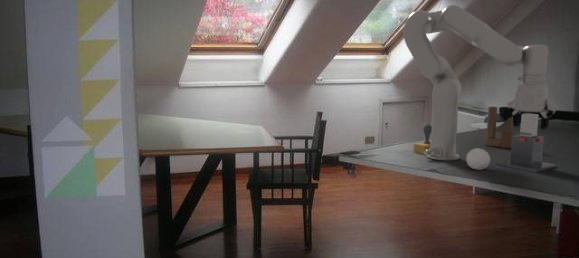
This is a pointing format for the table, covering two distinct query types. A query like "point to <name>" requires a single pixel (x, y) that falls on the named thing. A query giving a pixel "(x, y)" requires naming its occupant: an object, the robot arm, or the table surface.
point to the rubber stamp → (424, 145)
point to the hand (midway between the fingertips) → (529, 127)
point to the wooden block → (498, 130)
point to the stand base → (527, 154)
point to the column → (529, 125)
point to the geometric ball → (478, 159)
